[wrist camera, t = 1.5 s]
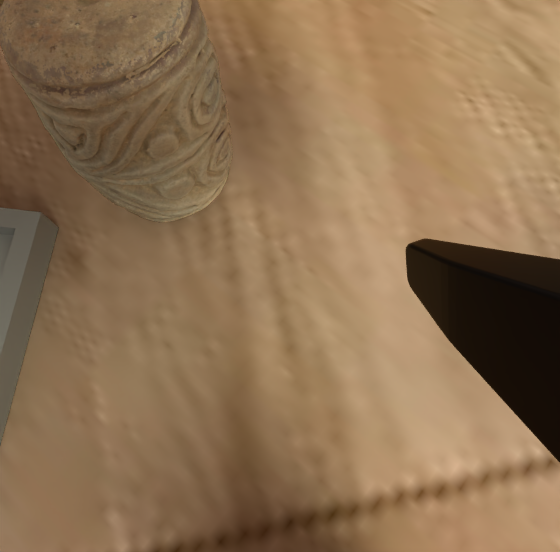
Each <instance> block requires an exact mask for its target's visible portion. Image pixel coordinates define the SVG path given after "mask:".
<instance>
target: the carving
mask: <svg viewBox="0 0 560 552" xmlns="http://www.w3.org/2000/svg"><path fill="white" fill-rule="evenodd" d="M0 44H1V47H2V49H3V53H4V56H5V59H6V62H7V64H8V66H9V68H10V70H11V72H12V74H13V76H14V78H15V79H16V81H17V82H18V83H19V84H20V85H21V86H22V88H23V89H24V91H25V92H26V94H27V96H28V97H29V99H30V101H31V102H32V104H33V106H34V107H35V109H36V111H37V113H38V115H39V117H40V119H41V121H42V123H43V125H44V127H45V128H46V130H48V132H49V133H50V135H51V136H52V138H53V139H54V141H55V143H56V144H57V146H58V147H59V149H60V151H61V152H62V153H63V155H64V157H65V158H66V159H67V161H68V162H69V163H70V165H71V166H72V167H73V169H74V170H75V171H76V172H77V173H78V174H79V175H80V176H81V177H83V178H84V179H85V180H86V181H88V182H89V183H90V184H91V185H92V186H93V187H94V188H95V189H97V190H98V191H99V192H100V193H101V194H102V195H103V196H105V197H106V198H107V199H109V200H110V201H111V202H113V203H114V204H116V205H119V206H121V207H124V208H125V209H127V210H128V211H130V212H132V213H134V214H136V215H138V216H140V217H142V218H145V219H148V220H151V221H156V222H169V221H174V220H178V219H181V218H184V217H187V216H190V215H192V214H194V213H196V212H198V211H200V210H202V209H204V208H205V207H207V206H208V205H209V204H210V203H211V202H212V201H213V200H214V199H215V198H216V197H217V196H218V195H219V194H220V192H221V191H222V189H223V187H224V185H225V183H226V180H227V178H228V174H229V169H230V164H231V161H232V157H233V153H232V141H231V129H230V124H229V123H228V120H229V115H228V111H227V108H226V107H225V106H224V105H225V104H226V97H225V93H224V91H223V90H222V89H221V81H220V72H219V64H218V58H217V55H216V51H215V49H214V46H213V44H212V43H211V42H210V40H209V38H208V27H207V24H206V21H205V18H204V15H203V13H202V11H201V9H200V6H199V2H198V0H4V2H3V4H2V6H1V7H0Z"/></svg>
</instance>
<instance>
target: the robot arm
mask: <svg viewBox="0 0 560 552" xmlns="http://www.w3.org/2000/svg"><path fill="white" fill-rule="evenodd" d="M406 265H407V278H408V282H409V285H410V287H411V289H412V290H413V291H414V293H415V294H416V296H417V297H418V298H419V300H420V301H421V303H422V304H423V305H424V307H425V308H426V310H427V311H428V312H429V314H430V315H431V317H432V318H433V319H434V321H435V322H436V324H437V325H438V326H439V328H440V329H441V330H442V332H443V333H444V334H445V336H446V337H447V338H448V340H449V341H450V342H451V343H452V344H453V345H454V347H455V348H456V349H457V350H458V351H459V352H460V353H461V354H462V356H463V357H464V358H465V359H466V360H467V361H468V362H469V363H470V364H471V365H472V367H473V368H474V369H475V370H476V371H477V372H478V373H479V374H480V375H481V376H482V378H483V379H484V380H485V381H486V382H487V383H488V384H489V385H490V386H491V387H492V389H493V390H494V391H495V392H496V393H497V394H498V395H499V396H500V397H501V399H502V400H503V401H504V402H505V403H506V404H507V405H508V406H509V407H510V408H511V410H512V411H513V412H514V413H515V414H516V415H517V416H518V417H519V418H520V419H521V421H522V422H523V423H524V424H525V425H526V426H527V427H528V428H529V429H530V430H531V432H532V433H533V434H534V435H535V436H536V437H537V438H538V439H539V440H540V441H541V443H542V444H543V445H544V446H545V447H546V448H547V449H548V450H549V451H550V452H551V454H552V455H553V456H554V457H555V458H556V459H557V460H558V461H559V462H560V259H553V258H547V257H541V256H534V255H528V254H522V253H515V252H509V251H502V250H496V249H490V248H483V247H477V246H471V245H464V244H458V243H452V242H445V241H439V240H433V239H421V240H418V241H415V242H413V243H410V244H408V246H407V247H406Z"/></svg>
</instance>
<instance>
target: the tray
mask: <svg viewBox="0 0 560 552" xmlns="http://www.w3.org/2000/svg"><path fill="white" fill-rule="evenodd" d="M58 228H59V227H57V226H56V225H55V224H54V223H53V222H52V221H51V220H49V219H48V218H47V217H46V216H45V215H44V214H43V213H41V212H35V211H26V210H18V209H9V208H0V444H1V441H2V437H3V433H4V429H5V426H6V422H7V418H8V414H9V411H10V407H11V403H12V400H13V396H14V392H15V388H16V385H17V381H18V377H19V374H20V370H21V366H22V362H23V359H24V355H25V351H26V347H27V344H28V340H29V336H30V333H31V329H32V325H33V321H34V318H35V314H36V310H37V306H38V303H39V299H40V295H41V292H42V288H43V284H44V280H45V277H46V273H47V269H48V266H49V262H50V258H51V254H52V251H53V247H54V243H55V239H56V236H57V232H58Z"/></svg>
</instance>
